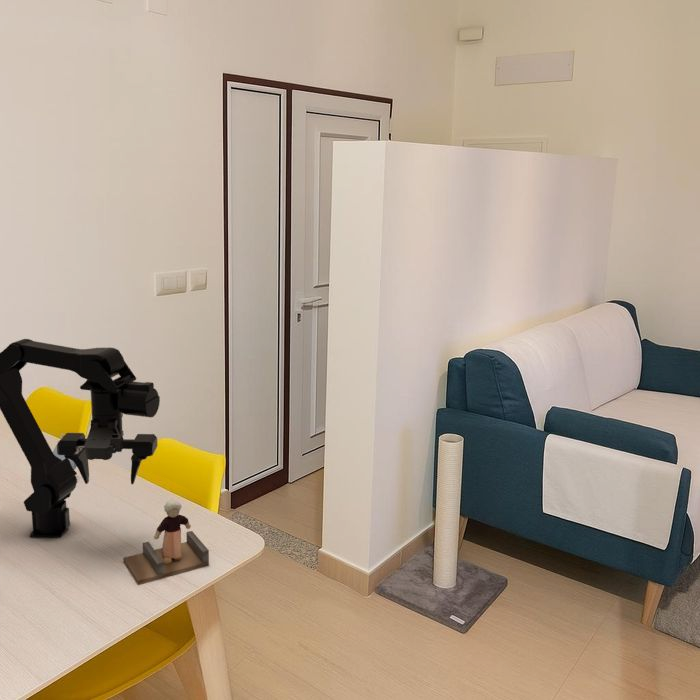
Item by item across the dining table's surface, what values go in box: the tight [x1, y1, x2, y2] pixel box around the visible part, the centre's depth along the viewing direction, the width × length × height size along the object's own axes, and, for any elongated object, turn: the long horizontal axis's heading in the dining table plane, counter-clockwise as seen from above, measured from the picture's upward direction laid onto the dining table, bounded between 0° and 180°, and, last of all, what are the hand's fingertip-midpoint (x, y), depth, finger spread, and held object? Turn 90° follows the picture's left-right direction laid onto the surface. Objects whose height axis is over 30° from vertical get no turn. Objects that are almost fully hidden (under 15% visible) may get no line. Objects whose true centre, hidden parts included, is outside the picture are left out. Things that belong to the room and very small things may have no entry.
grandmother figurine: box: [153, 498, 192, 564], centre depth 144 cm, size 8×4×13 cm, turn 141°
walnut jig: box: [122, 530, 210, 585], centre depth 145 cm, size 14×10×3 cm
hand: (109, 483), depth 150 cm, fingers open, 9 cm apart
